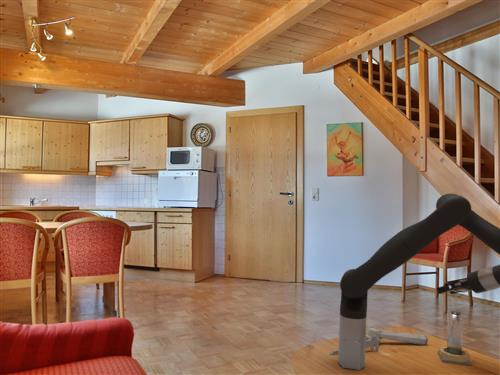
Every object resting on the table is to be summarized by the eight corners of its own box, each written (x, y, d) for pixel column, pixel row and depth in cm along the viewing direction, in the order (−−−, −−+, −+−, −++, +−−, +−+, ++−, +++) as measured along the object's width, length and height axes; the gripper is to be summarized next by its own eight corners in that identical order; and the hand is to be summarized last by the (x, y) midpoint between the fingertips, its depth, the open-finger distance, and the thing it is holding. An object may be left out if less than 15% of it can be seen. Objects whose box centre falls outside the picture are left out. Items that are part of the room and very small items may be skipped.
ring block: (471, 365, 148) (472, 358, 148) (442, 361, 151) (442, 354, 151) (465, 355, 157) (465, 348, 158) (437, 352, 160) (437, 345, 160)
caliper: (377, 351, 160) (377, 334, 160) (378, 352, 159) (379, 335, 159) (329, 354, 155) (329, 337, 155) (330, 355, 154) (331, 338, 154)
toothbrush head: (429, 337, 166) (370, 327, 165) (426, 353, 166) (367, 344, 164) (422, 332, 172) (365, 323, 170) (420, 348, 171) (362, 339, 170)
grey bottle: (463, 360, 151) (464, 314, 151) (448, 358, 152) (449, 313, 153) (460, 355, 156) (461, 311, 156) (445, 353, 157) (447, 309, 157)
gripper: (490, 270, 151) (450, 282, 162) (471, 268, 143) (430, 280, 154) (498, 291, 147) (457, 301, 159) (479, 289, 139) (436, 300, 151)
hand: (443, 291), depth 156 cm, fingers open, 8 cm apart
